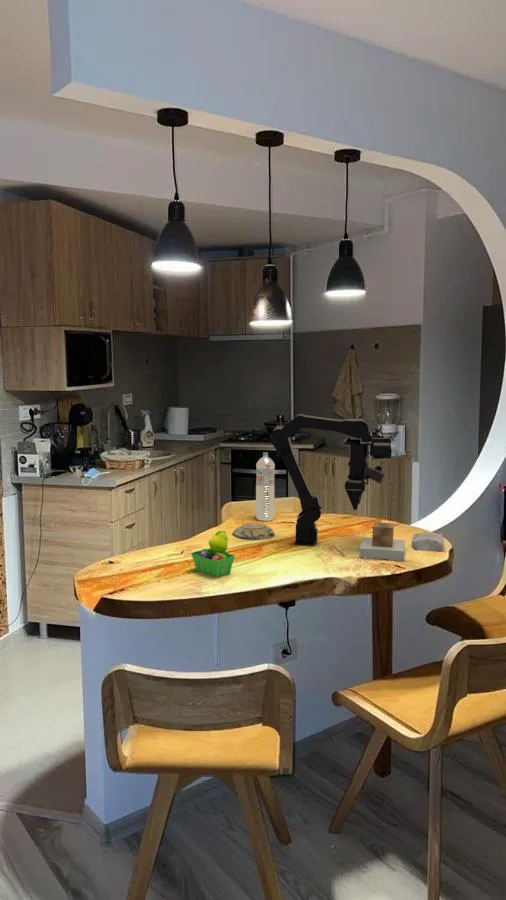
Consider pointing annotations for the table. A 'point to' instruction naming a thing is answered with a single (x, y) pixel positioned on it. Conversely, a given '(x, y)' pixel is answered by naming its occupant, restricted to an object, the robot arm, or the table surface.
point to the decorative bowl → (253, 531)
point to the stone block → (428, 541)
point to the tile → (382, 550)
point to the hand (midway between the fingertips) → (356, 506)
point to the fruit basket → (214, 556)
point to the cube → (382, 534)
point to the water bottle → (265, 489)
